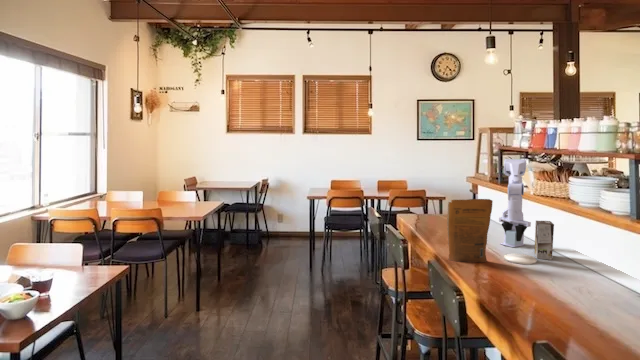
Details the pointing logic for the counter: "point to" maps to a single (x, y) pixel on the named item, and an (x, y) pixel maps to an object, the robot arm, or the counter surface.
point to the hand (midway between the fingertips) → (513, 239)
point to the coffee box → (544, 239)
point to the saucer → (520, 259)
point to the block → (512, 237)
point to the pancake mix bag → (468, 229)
